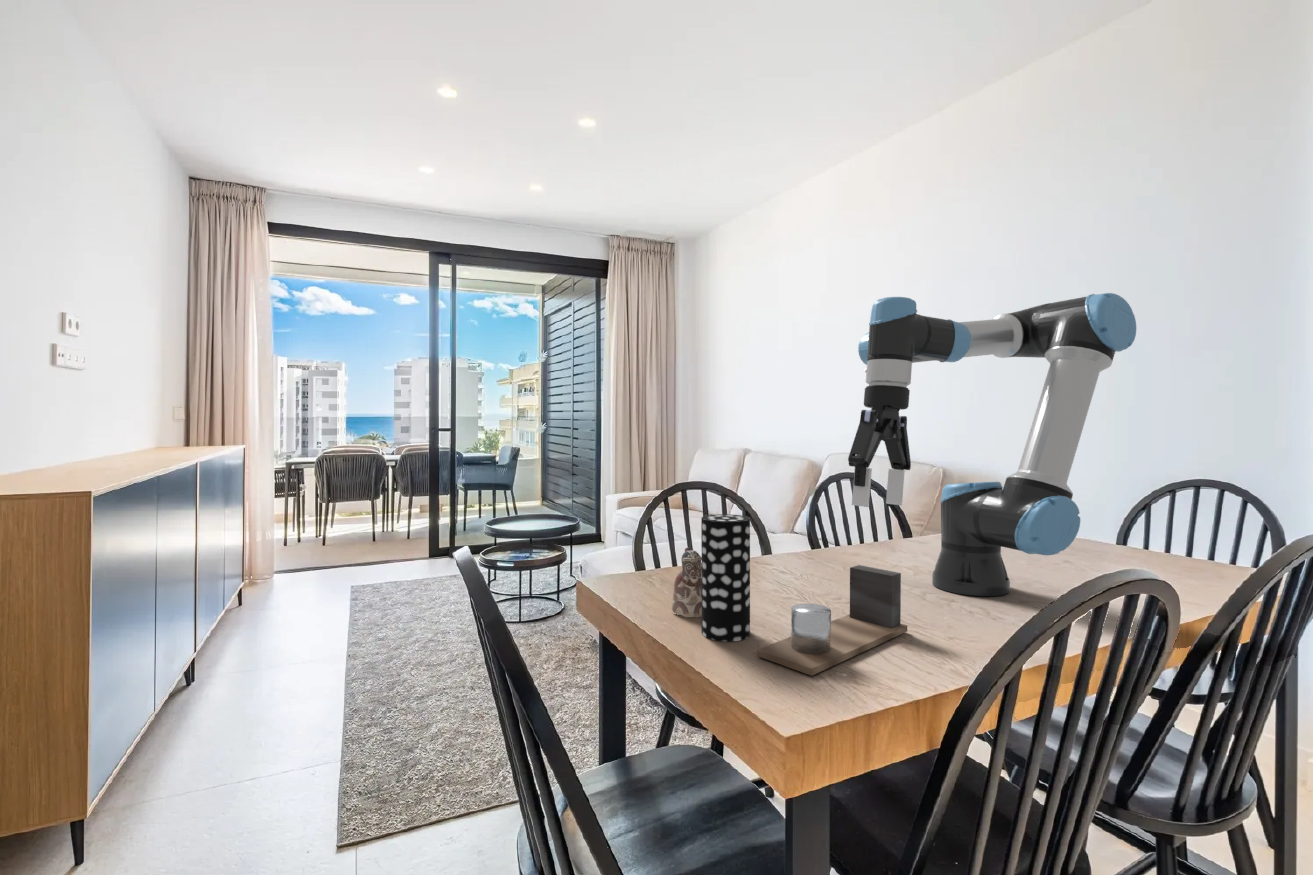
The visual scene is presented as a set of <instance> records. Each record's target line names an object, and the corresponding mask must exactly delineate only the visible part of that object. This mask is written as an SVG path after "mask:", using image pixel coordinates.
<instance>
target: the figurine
mask: <svg viewBox="0 0 1313 875" xmlns="http://www.w3.org/2000/svg"><path fill="white" fill-rule="evenodd" d="M701 560H702V555H700V554H699V552H697V551H696V550H694V549H693V550H692V549H691V548H690V547H685V548H684V552H683V554H682V555H681V567H682V571H680V572H679V573H678V574H677V576H676V577H675V579H674V583H673V593H672V594H673V596H672V601H671V610H672V611H673V612H674V613H676V614H678V615H682V616H681V617H683V616H684V617H683V618H687V617H696V618H702V567H701ZM673 612H672V613H673ZM676 614H675V615H676ZM678 615H677V616H678Z"/></svg>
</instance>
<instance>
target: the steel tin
mask: <svg viewBox="0 0 1313 875" xmlns="http://www.w3.org/2000/svg"><path fill="white" fill-rule="evenodd" d="M790 610H791V611H790V613H791V614H790V616H791V617H790V618H791V621H790V626H791V628H790V631H791V632H790V637H791V647H792V648H793V649H794V650H796V651H798V652H801V653H805V654H825V653H828V652H829V651H830V650H831V621H832V610H831V608H829V607H828V606H825V605H821V604H817V603H798V604H794V605H792V606H791V608H790Z"/></svg>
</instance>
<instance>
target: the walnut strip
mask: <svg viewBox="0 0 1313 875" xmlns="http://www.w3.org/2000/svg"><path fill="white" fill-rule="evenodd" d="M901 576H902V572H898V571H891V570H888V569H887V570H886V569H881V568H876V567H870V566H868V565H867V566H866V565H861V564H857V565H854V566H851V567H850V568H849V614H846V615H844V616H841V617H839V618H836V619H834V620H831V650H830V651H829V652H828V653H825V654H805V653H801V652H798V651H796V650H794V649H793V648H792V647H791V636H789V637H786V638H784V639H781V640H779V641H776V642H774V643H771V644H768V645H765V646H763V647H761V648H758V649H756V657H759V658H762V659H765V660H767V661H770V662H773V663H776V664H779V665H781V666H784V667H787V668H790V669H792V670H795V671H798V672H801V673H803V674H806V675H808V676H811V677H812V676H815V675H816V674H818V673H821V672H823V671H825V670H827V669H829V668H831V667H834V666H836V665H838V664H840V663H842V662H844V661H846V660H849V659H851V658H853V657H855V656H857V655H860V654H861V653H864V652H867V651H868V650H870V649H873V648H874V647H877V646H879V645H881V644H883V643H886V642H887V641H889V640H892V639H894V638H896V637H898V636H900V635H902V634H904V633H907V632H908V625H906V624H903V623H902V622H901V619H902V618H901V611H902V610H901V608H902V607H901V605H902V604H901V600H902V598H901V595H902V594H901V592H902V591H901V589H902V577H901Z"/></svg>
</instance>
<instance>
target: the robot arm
mask: <svg viewBox="0 0 1313 875" xmlns="http://www.w3.org/2000/svg"><path fill="white" fill-rule="evenodd" d="M871 307H872V308H871V310H870V311H871V312H870V318H869V323H868V325H869V329H868V330H869V331H868V332H866V333H865V334H864V335H863V336H862V337H861V338H860V340H859V342H858V346H857V348H858V350H857V352H858V356H859V359H860V360H861V361H862V363H863V364H864V365H866V368H865V369H864V372H865V373H866V376H865V383H866V384H868V385H867V386H866V387H865V388H864V394H863V395H864V396H863V406H864V407H866V408H869V409H861V412H860V418H859V419H860V420H859V423H858V427H857V430H856V431H855V432H856V433H855V436H854V438H853V443H852V445H851V448H850V452H849V455H848V459H847V460H848V466H849V467H854V474H853V484H852V485H853V486H852V498H851V505H852V506H856V507H863V508H869V506H870V495H871V487H872V486H871V483H872V474H873V473H872V469H873V468H870V465H871V463H872V461H873V459H874V456H875V454H876V453H877V451H878V448H879V446H880V444H881V442H882V441H883V442H884V445H885V448H886V449H885V450H886V453H887V456H888V461H889V465H890V467H891V468H888V472H887V473H888V474H887V484H886V498H885V499H886V500H885V504H888V505H894V506H903V497H904V496H903V495H904V484H905V472H906V471H910V470H911V469H912V468H911V466H912V465H911V464H912V462H911V460H912V459H911V454H910V445H909V436H908V428H907V427H908V417H907V416H906V415H900V410H902V411H903V410H907V409H908V408H909V403H910V388H908V386H910V385H911V384H912V370H913V369H912V368H913V367H912V366H913V363H922V362H923V363H924V362H932V361H938V362H940V363H956V362H958V361H961V360H962V359H963V358H970V357H979V356H980V357H981V356H990V355H993V356H994V357H997V358H1000V359H1003V358H1005V359H1006V358H1040V359H1041V358H1045V360H1046V361H1047V362H1048V363H1049V367H1048V371H1047V374H1046V376H1045V380H1044V384H1043V387H1042V390H1041V394H1040V397H1039V400H1038V403H1037V407H1036V410H1035V413H1034V416H1033V420H1032V422H1031V426H1030V428H1029V429H1030V430H1029V432H1028V436H1027V438H1026V439H1027V440H1026V443H1025V447H1024V449H1023V453H1022V455H1021V459H1020V463H1019V465H1018V469H1017V471H1016V472H1013V473H1012V474H1010V475H1007V476H1006V479H1005V482H1004V485H1002V483H1001V482H1000V481H981V482H962V483H961V482H958V483H956V482H955V483H947V484H945V485H944V486H943V488H942V489H941V490H942V492H941V500H940V522H941V523H940V529H941V530H940V531H941V533H940V537H941V538H940V540H941V545H940V552H939V555H938V558H937V562H936V563H935V567H934V569H933V571H932V576H931V577H932V580H931V581H932V586H934V587H935V588H937V589H940V590H942V591H945V592H949V593H954V594H959V595H964V596H965V595H966V596H972V597H973V596H974V597H999V596H1004V595H1007V593H1008V594H1009V593H1010V592H1011V581H1010V578H1009V576H1008V572H1007V569H1006V566H1005V563H1004V561H1003V560H1004V559H1003V557H1002V548H1006V549H1011V550H1016V551H1020V552H1022V553H1025V554H1029V555H1041V556H1055V555H1057V554H1059V553H1061V552H1063V551H1065V550H1066V549H1068V548H1069V547H1070V546H1071V544H1072V543H1073V542H1074V541H1075V539H1076V537H1077V536H1078V533H1079V530H1080V527H1081V517H1080V516H1079V515H1080V509H1079V506H1078V505H1077V504H1076V502H1075V501H1073V495H1074V492H1073V490H1071V488H1070V487H1069V485H1068V479H1069V476H1070V473H1071V469H1072V467H1073V463H1074V460H1075V456H1076V453H1077V450H1078V447H1079V443H1080V440H1081V436H1082V433H1083V429H1084V425H1085V423H1086V420H1087V416H1088V413H1089V409H1090V406H1091V403H1092V399H1093V396H1094V392H1095V390H1096V386H1097V382H1098V379H1099V376H1100V373H1101V372H1103V371H1105V370H1107V369H1109V368H1110V367H1111V366H1112V365H1113V364H1112V363H1113V360H1114V358H1115V354H1116V352H1118V353H1119V352H1122V351H1125V350H1127V349H1129V348H1130V347H1131V346H1132V345H1133V344H1134V341H1135V339H1136V335H1137V321H1136V316H1135V314H1134V312H1133V309H1132V306H1130V304H1129V303H1128V301H1127V300H1126V299H1124V298H1123V297H1122V296H1121V295H1119V294H1117V293H1113V292H1105V293H1099V294H1098V293H1097V294H1095V293H1091V294H1088V295H1087V296H1081V297H1078V298H1071V299H1065V300H1060V301H1054V302H1049V303H1044V304H1039V305H1037V306H1032V307H1029V308H1025V309H1021V310H1018V311H1014V312H1009V313H1001V314H997V315H996V316H994V317H992V318H991V319H985V320H984V319H981V320H972V321H961V322H958V321H955V320H953V319H944V318H938V317H932V316H926V315H922V314H919V313H918V310H917V302H916V301H915V300H913V299H912V298H911V297H905V296H890V297H889V296H888V297H883V298H879V299H877V300H876V301H874V303H873V304H872V306H871Z"/></svg>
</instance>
